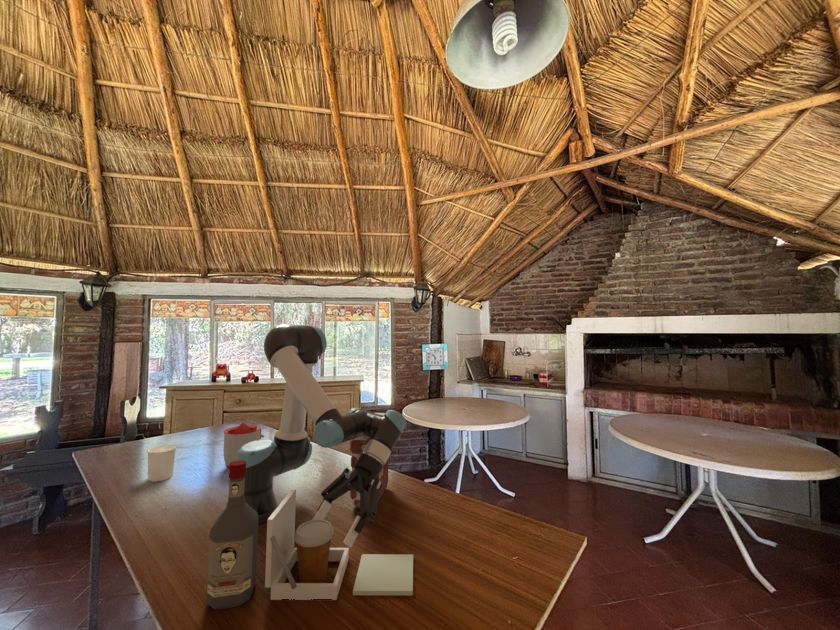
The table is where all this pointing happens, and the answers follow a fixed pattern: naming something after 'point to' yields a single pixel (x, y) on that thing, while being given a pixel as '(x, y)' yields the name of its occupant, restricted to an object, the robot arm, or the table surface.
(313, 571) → the disposable coffee cup
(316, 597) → the access hatch
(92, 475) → the table surface
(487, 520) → the table surface
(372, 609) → the table surface
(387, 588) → the board
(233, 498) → the liquor
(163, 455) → the candle holder
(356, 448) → the first aid kit
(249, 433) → the citrus juicer
